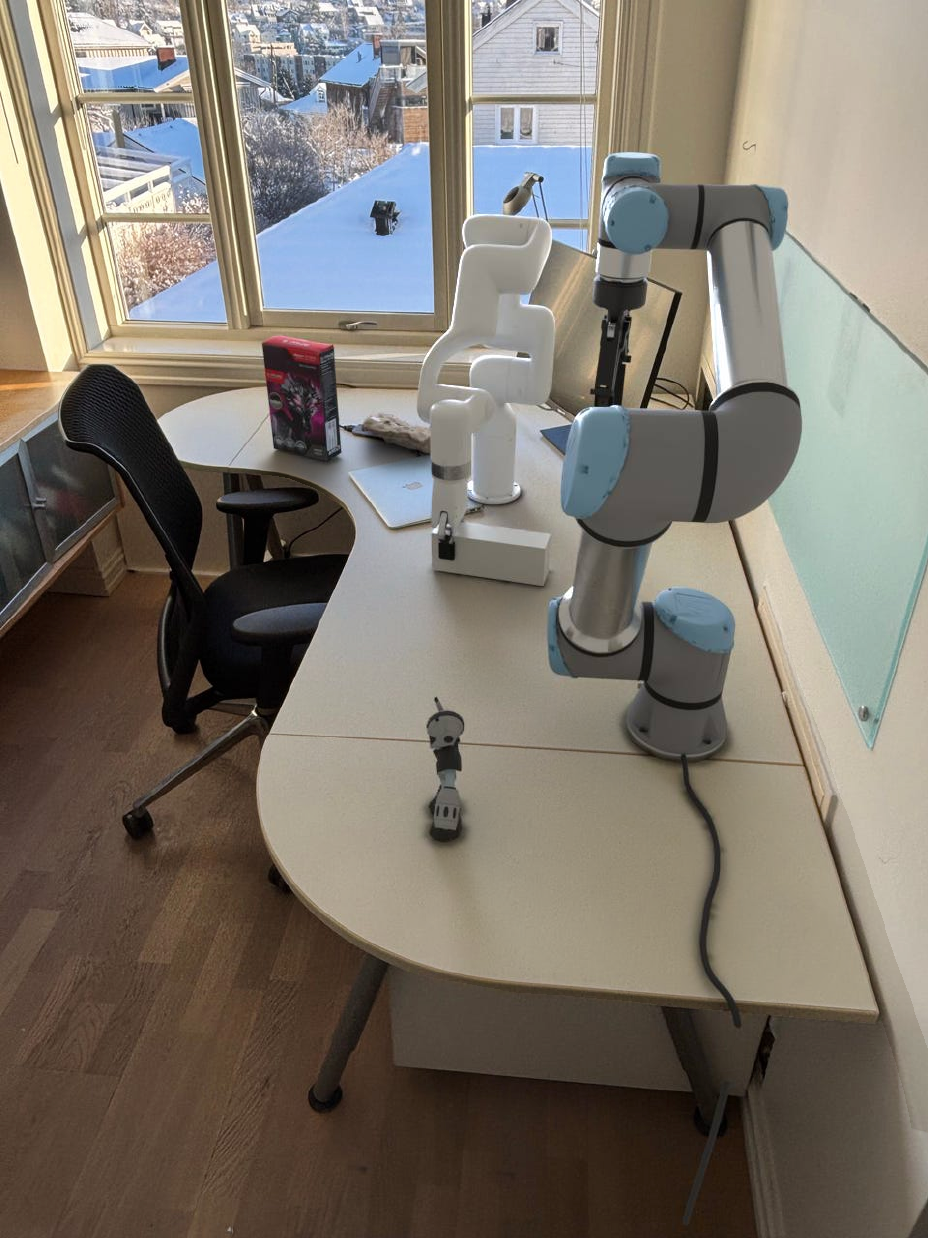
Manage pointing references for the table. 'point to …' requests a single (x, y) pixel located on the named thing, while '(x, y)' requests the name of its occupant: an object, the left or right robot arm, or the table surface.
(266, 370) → the graphics card box
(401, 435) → the stone
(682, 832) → the table surface
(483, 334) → the left robot arm
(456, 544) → the bar
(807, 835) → the table surface
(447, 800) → the robot
